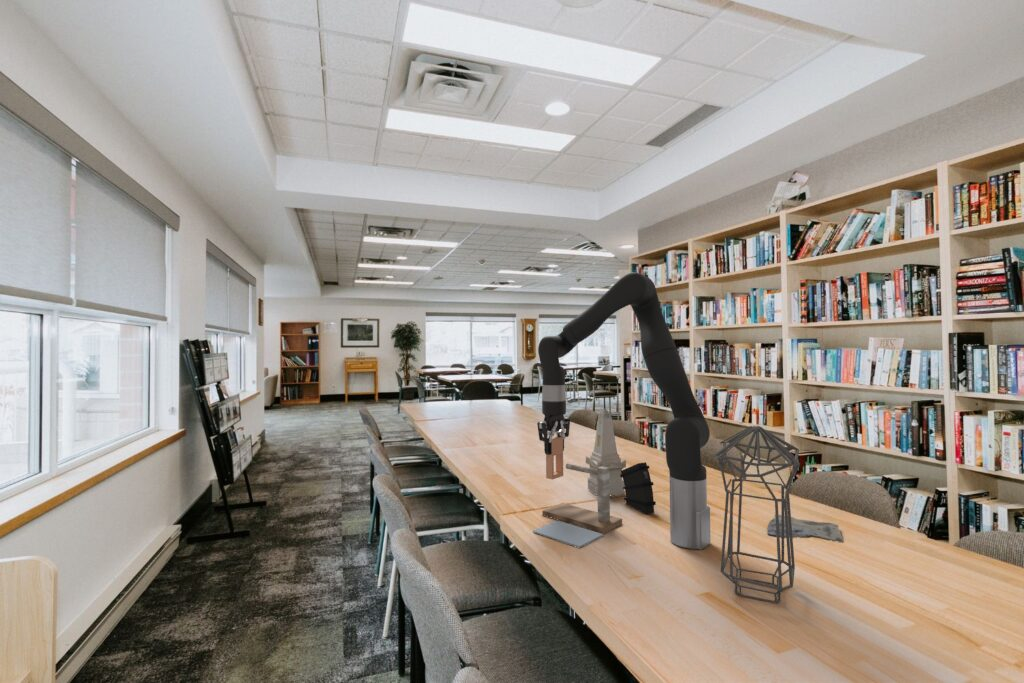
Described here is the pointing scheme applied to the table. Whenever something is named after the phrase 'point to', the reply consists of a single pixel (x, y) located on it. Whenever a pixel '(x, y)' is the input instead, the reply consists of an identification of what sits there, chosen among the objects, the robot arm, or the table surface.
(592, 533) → the mat
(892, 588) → the table surface
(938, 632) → the table surface
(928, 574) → the table surface
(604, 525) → the stand
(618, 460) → the miniature monument
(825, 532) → the fossil rock
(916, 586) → the table surface
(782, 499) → the geometric lantern
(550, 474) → the salmon hollow block
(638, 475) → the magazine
